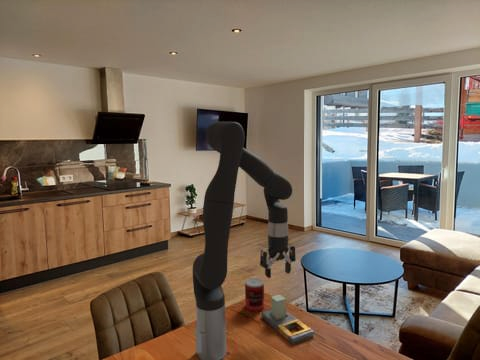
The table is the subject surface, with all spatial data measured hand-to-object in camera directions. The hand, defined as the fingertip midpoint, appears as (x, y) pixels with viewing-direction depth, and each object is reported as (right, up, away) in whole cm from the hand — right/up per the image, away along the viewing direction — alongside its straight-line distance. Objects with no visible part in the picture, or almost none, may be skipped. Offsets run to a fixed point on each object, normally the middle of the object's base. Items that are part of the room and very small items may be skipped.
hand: (278, 275), depth 128 cm
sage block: (0, -18, +2) cm, 18 cm away
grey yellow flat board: (+3, -18, -2) cm, 19 cm away
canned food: (-8, -17, +13) cm, 23 cm away
